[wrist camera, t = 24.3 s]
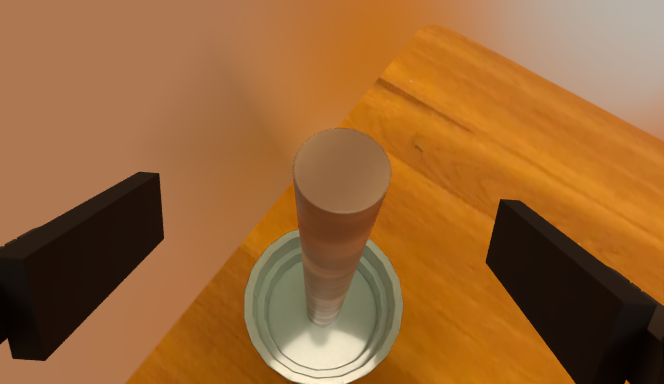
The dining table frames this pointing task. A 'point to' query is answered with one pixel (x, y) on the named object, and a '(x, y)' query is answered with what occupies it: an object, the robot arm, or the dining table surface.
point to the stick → (336, 212)
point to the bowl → (313, 341)
